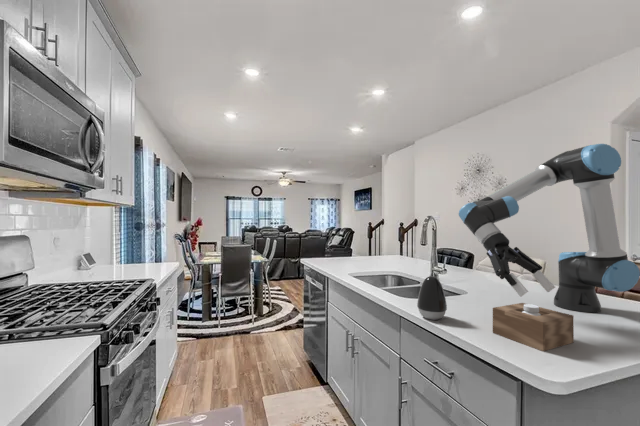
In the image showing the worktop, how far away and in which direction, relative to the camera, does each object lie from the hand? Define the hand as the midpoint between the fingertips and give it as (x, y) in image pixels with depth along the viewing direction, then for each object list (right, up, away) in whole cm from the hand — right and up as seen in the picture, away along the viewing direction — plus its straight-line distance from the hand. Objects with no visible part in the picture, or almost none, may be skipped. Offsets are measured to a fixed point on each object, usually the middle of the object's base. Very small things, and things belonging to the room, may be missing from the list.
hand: (538, 291), depth 94 cm
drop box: (-1, -14, +2) cm, 15 cm away
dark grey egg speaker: (-25, -15, +20) cm, 35 cm away
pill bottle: (-1, -15, +2) cm, 15 cm away
